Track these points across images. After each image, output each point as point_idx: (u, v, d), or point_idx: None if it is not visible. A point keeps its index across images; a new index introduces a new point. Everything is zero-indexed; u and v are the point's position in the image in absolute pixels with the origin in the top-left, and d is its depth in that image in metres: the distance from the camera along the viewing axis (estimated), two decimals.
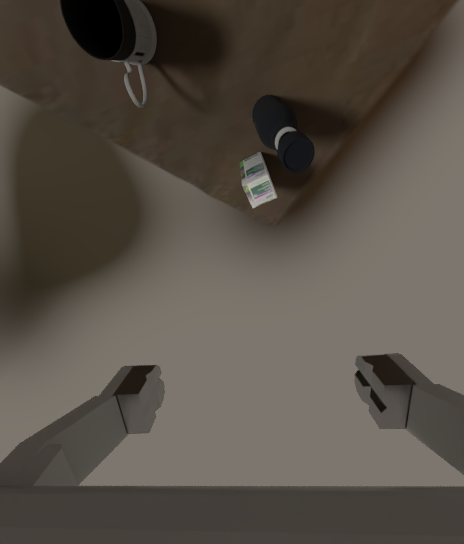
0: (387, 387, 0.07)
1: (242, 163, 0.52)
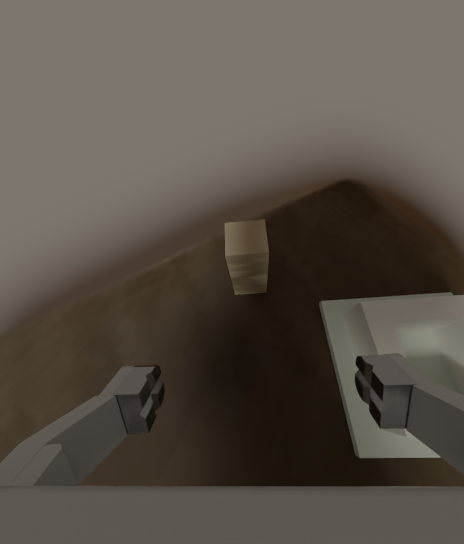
0: (387, 387, 0.07)
1: None
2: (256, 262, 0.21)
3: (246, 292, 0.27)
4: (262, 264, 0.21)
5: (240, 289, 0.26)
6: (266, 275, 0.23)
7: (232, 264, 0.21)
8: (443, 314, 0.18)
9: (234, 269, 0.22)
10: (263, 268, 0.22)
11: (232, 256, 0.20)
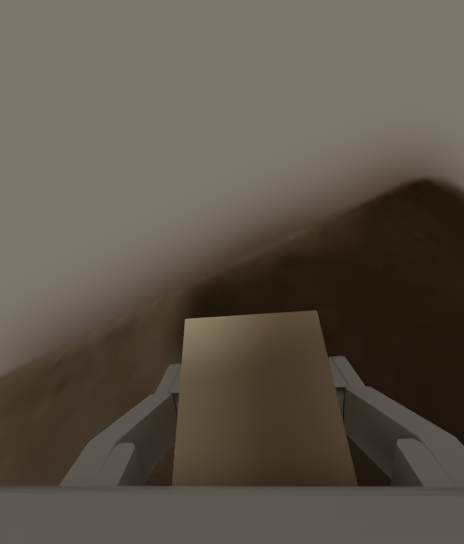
0: None
1: None
2: None
3: None
4: None
5: None
6: None
7: None
8: None
9: None
10: None
11: None
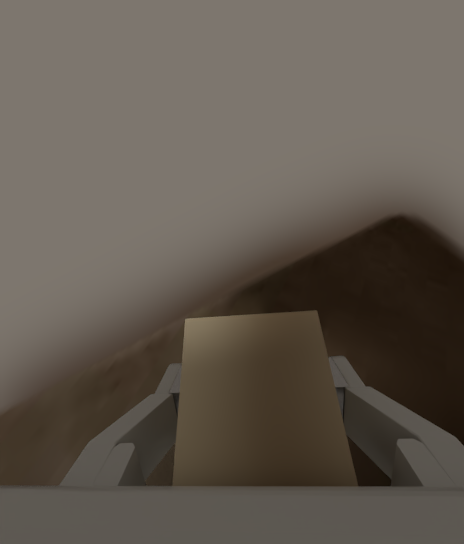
0: None
1: None
2: None
3: None
4: None
5: None
6: None
7: None
8: None
9: None
10: None
11: None
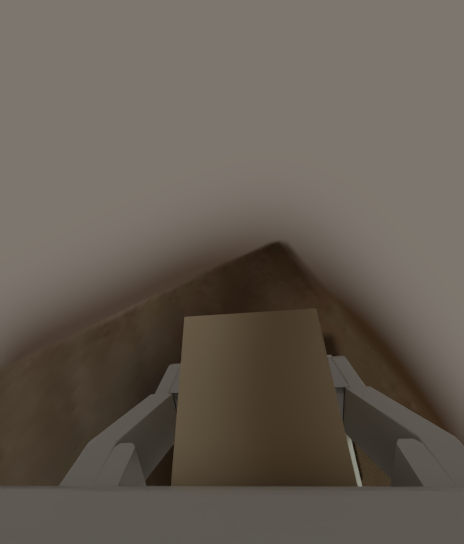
0: None
1: None
2: None
3: None
4: None
5: None
6: None
7: None
8: None
9: None
10: None
11: None
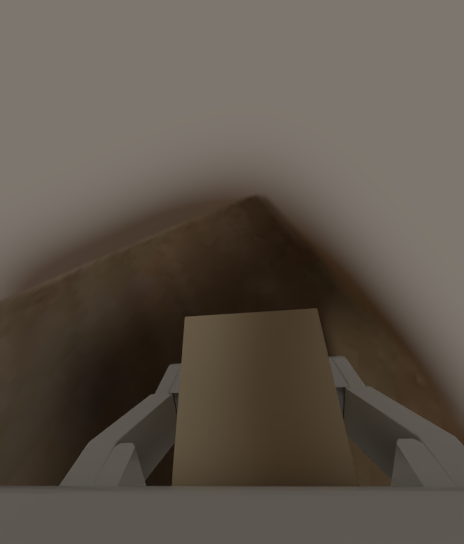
0: None
1: None
2: None
3: None
4: None
5: None
6: None
7: None
8: None
9: None
10: None
11: None
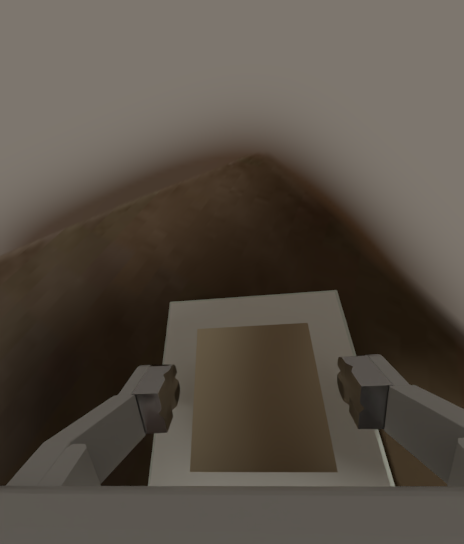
0: (364, 388, 0.07)
1: None
2: None
3: None
4: None
5: None
6: None
7: None
8: (275, 323, 0.12)
9: None
10: None
11: (213, 470, 0.06)
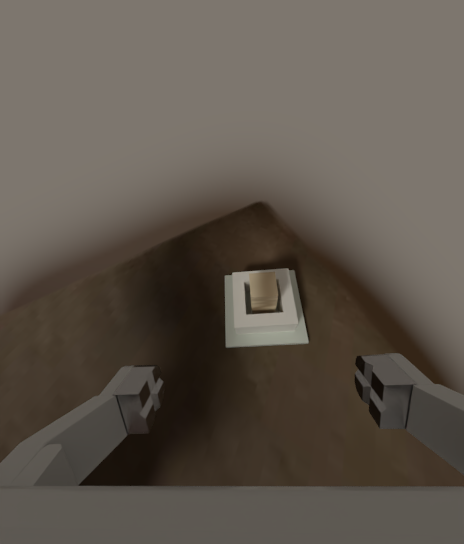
0: (387, 387, 0.07)
1: None
2: (269, 300, 0.33)
3: None
4: (273, 301, 0.33)
5: (256, 313, 0.38)
6: (275, 306, 0.35)
7: (254, 301, 0.33)
8: None
9: (255, 303, 0.34)
10: (273, 303, 0.34)
11: (255, 297, 0.31)
